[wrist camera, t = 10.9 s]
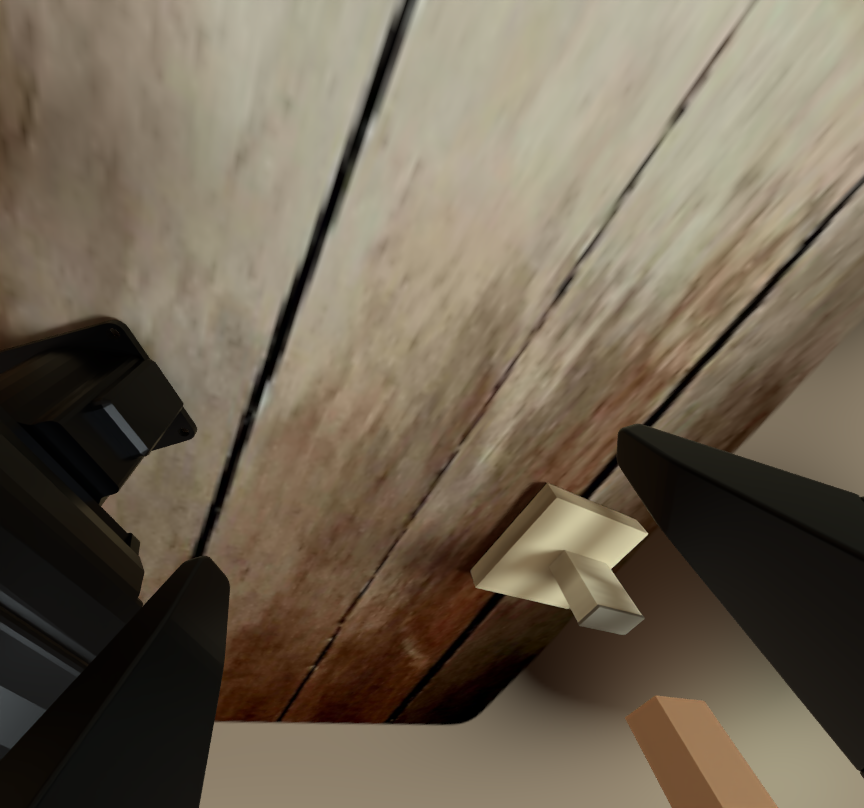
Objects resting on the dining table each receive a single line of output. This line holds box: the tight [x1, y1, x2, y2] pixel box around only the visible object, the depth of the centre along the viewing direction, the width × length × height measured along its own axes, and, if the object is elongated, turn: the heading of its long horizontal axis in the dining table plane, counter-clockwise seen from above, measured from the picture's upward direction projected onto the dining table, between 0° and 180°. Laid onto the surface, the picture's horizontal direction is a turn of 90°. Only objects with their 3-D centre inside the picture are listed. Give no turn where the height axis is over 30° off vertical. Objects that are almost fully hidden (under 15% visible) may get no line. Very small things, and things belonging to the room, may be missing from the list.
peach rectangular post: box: [625, 696, 778, 808], centre depth 20 cm, size 5×2×6 cm, turn 58°
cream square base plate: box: [470, 483, 648, 635], centre depth 29 cm, size 10×10×6 cm
